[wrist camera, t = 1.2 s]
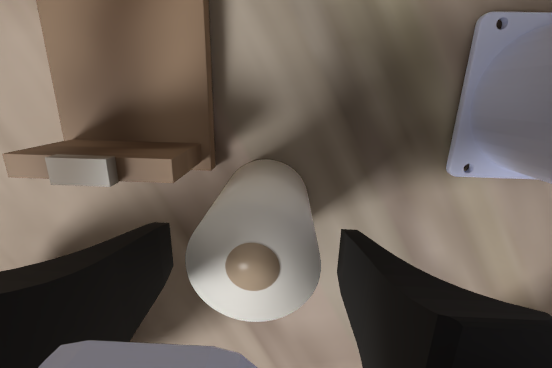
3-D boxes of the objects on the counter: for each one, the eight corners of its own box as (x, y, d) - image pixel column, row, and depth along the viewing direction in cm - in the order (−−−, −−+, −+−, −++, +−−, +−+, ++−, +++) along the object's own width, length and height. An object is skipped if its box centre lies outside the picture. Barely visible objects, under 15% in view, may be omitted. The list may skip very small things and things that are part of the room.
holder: (206, -63, 13) (151, -168, 8) (215, 166, 17) (181, 199, 11) (39, -64, 14) (-121, -166, 8) (81, 161, 17) (-15, 192, 12)
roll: (310, 160, 16) (326, 206, 10) (305, 238, 18) (316, 326, 11) (223, 157, 16) (179, 201, 10) (226, 235, 18) (189, 319, 11)
